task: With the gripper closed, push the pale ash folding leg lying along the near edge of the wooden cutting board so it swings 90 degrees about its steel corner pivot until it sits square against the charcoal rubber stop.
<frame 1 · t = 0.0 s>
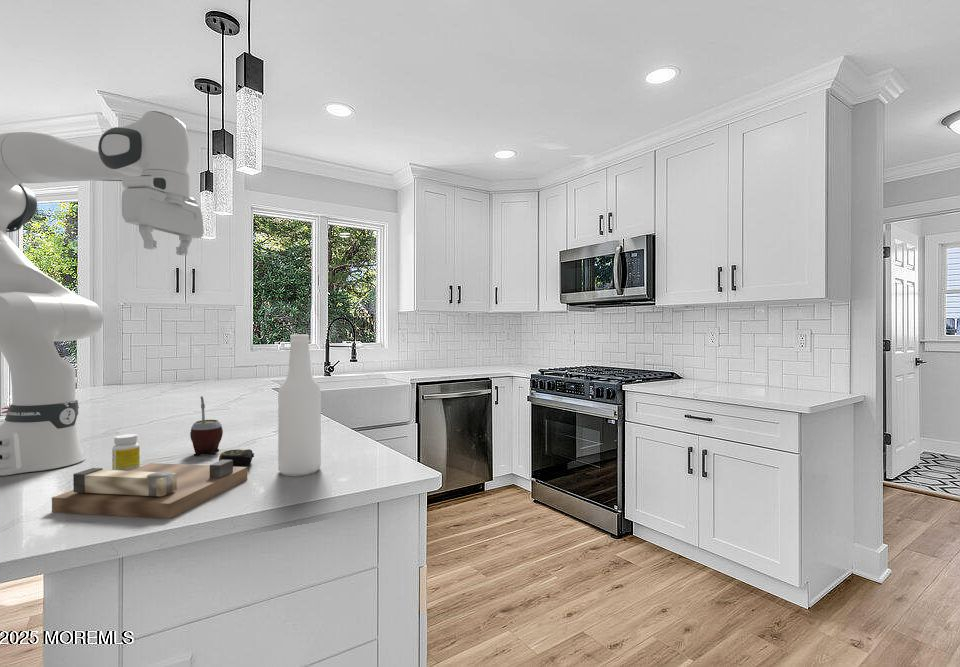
hand: (166, 252, 112), 48 cm above the worktop, fingers open, 8 cm apart
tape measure: (239, 468, 114), on the worktop
folding leg: (126, 481, 89), point 4 cm above the worktop, hinge at 0.0°
wooden cutting board: (159, 493, 96), on the worktop
mate gourd: (206, 454, 126), on the worktop
alcohol: (299, 471, 111), on the worktop
supplement bottle: (126, 476, 108), on the worktop
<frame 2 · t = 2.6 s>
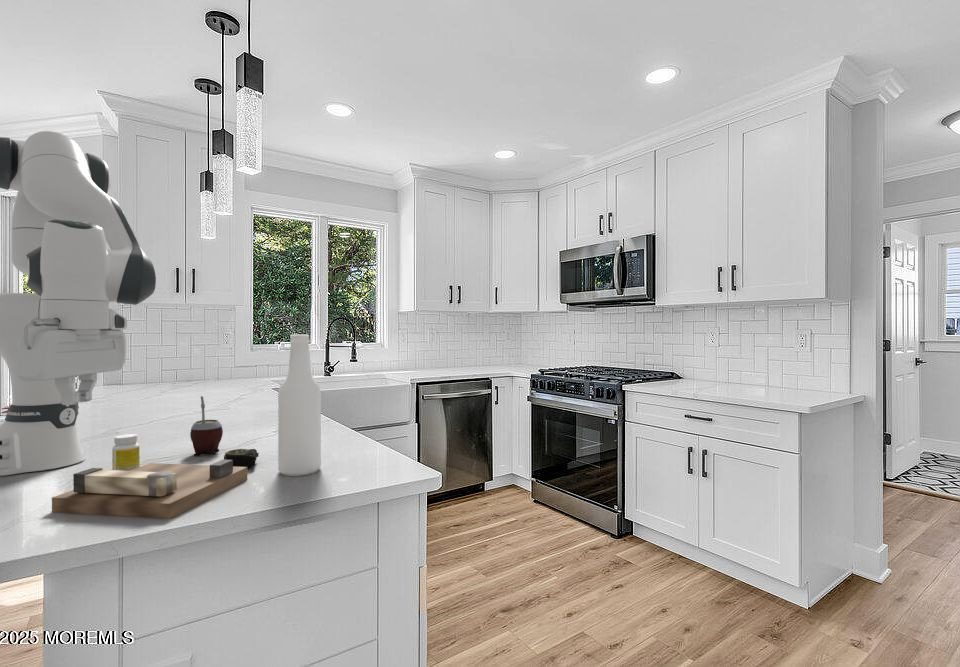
hand: (76, 403, 83), 19 cm above the worktop, fingers closed
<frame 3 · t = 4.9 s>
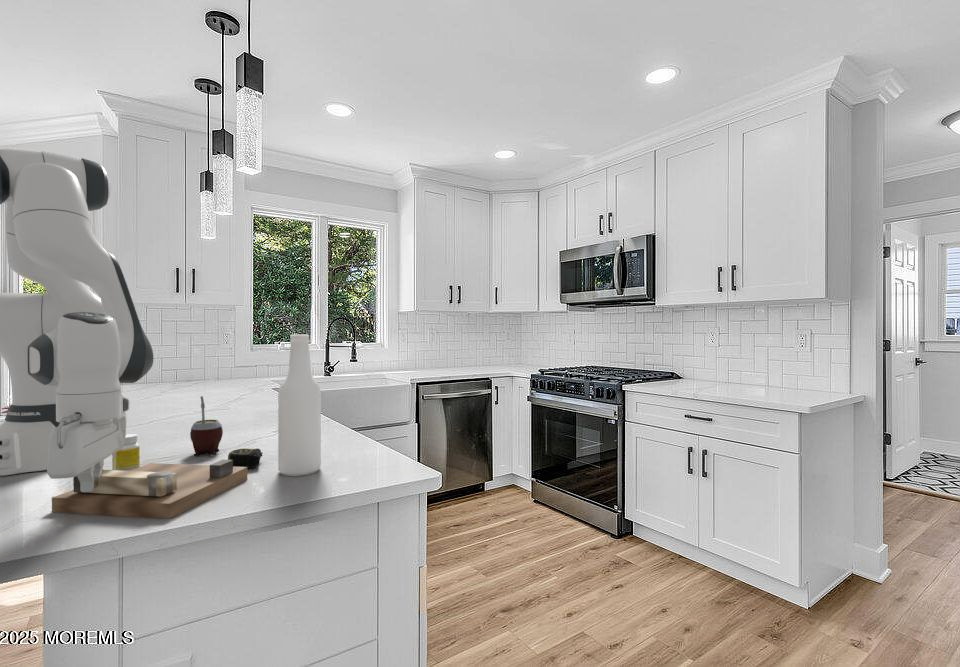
hand: (90, 489, 86), 4 cm above the worktop, fingers closed
folding leg: (126, 481, 89), point 4 cm above the worktop, hinge at 0.0°, touching gripper
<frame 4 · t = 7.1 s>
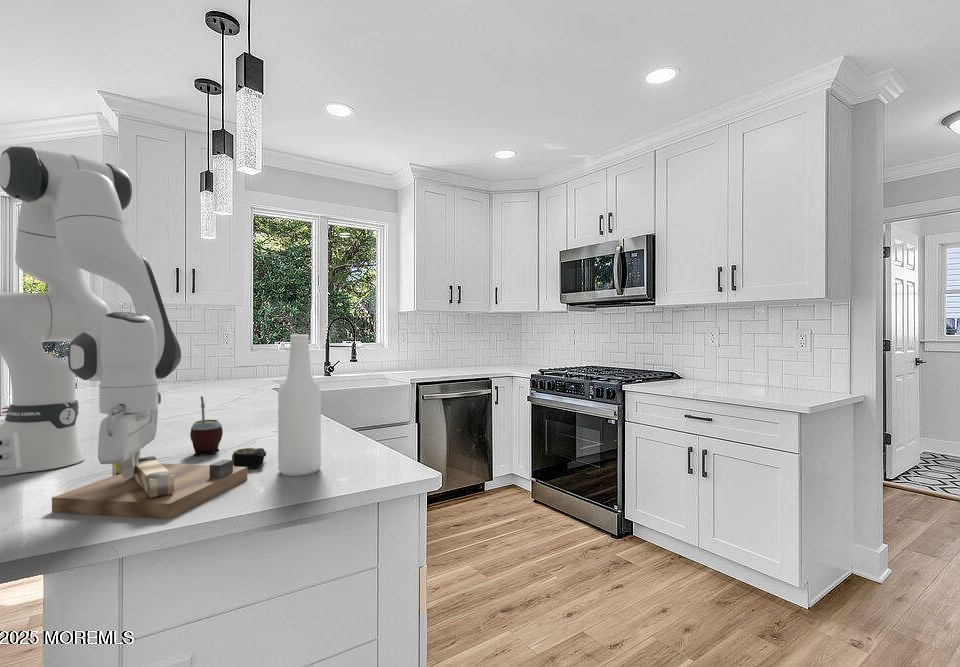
hand: (129, 476, 93), 4 cm above the worktop, fingers closed
folding leg: (152, 475, 93), point 4 cm above the worktop, hinge at 39.4°, touching gripper
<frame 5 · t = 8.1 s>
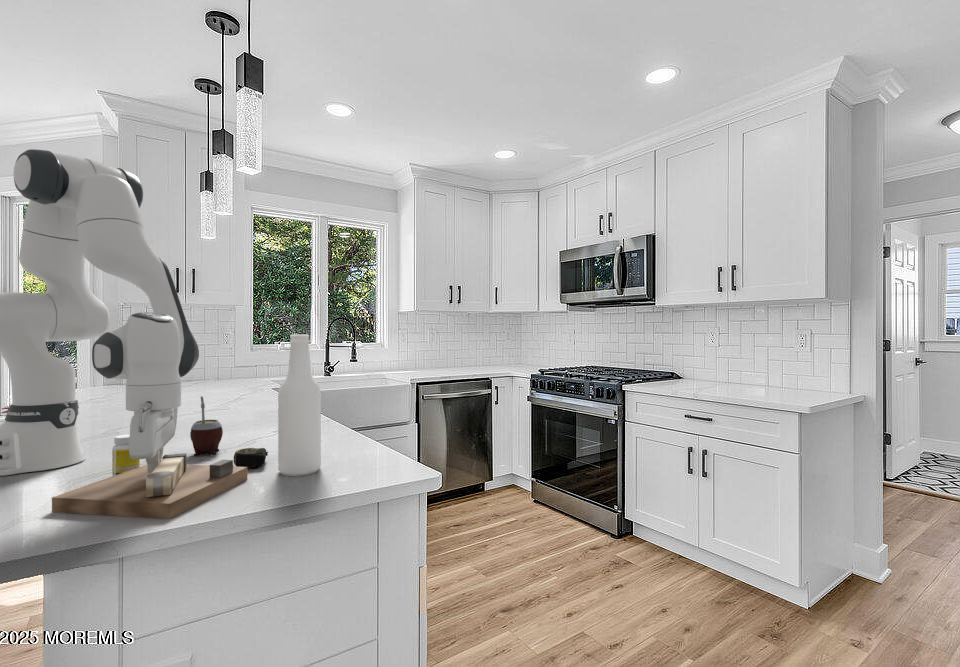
hand: (154, 471, 96), 4 cm above the worktop, fingers closed, pressing on folding leg
folding leg: (167, 473, 94), point 4 cm above the worktop, hinge at 60.5°, touching gripper
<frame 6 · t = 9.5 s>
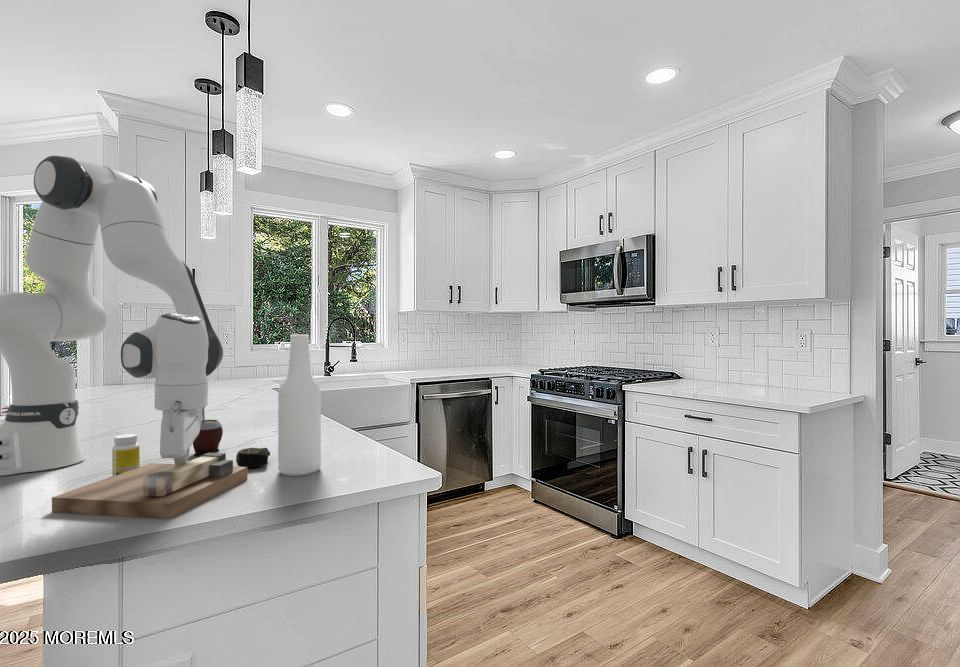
hand: (181, 470, 98), 4 cm above the worktop, fingers closed
folding leg: (187, 472, 95), point 4 cm above the worktop, hinge at 91.2°, touching gripper
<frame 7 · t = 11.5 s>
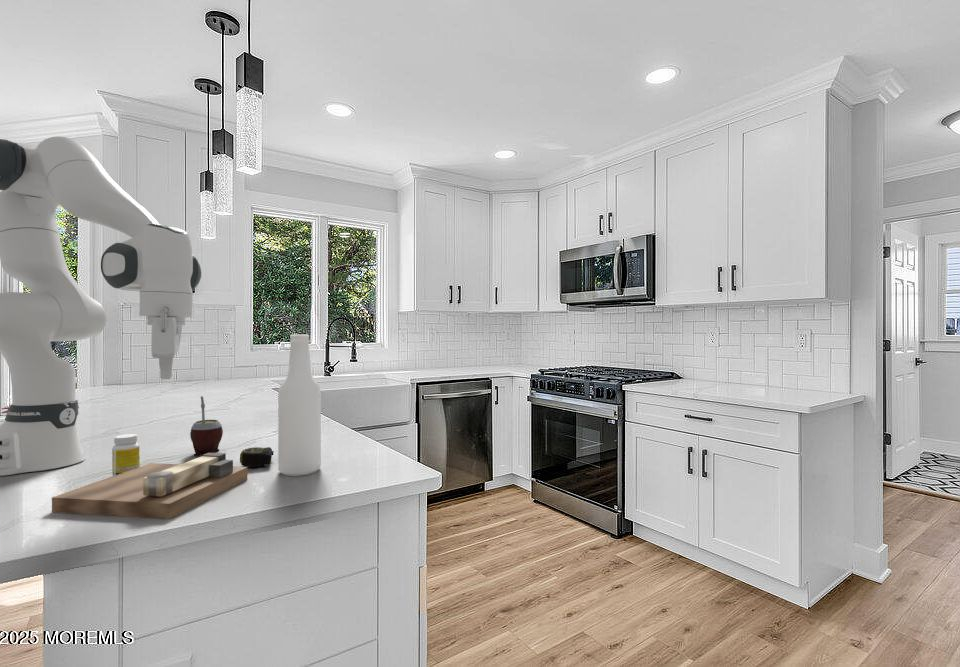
hand: (166, 378, 100), 21 cm above the worktop, fingers closed
folding leg: (187, 472, 95), point 4 cm above the worktop, hinge at 91.2°
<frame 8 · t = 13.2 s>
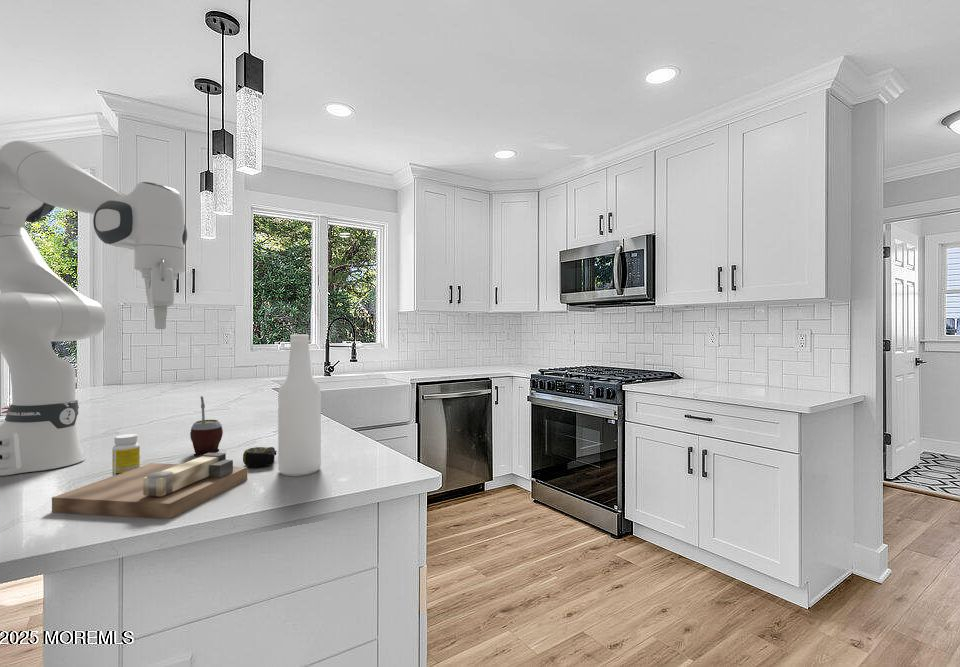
hand: (160, 329, 105), 31 cm above the worktop, fingers closed
at the end: folding leg at +91° (first picture: +0°) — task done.
